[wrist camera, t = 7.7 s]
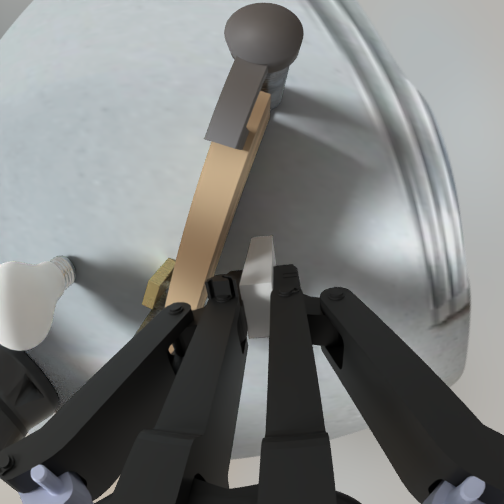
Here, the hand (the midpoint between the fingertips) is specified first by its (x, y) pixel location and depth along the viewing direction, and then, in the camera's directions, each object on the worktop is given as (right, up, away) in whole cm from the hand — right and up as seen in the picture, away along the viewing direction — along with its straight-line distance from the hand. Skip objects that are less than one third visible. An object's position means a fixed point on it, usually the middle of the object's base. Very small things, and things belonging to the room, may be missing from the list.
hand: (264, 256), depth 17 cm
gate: (-2, +4, 0) cm, 5 cm away
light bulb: (-18, -1, +4) cm, 18 cm away
